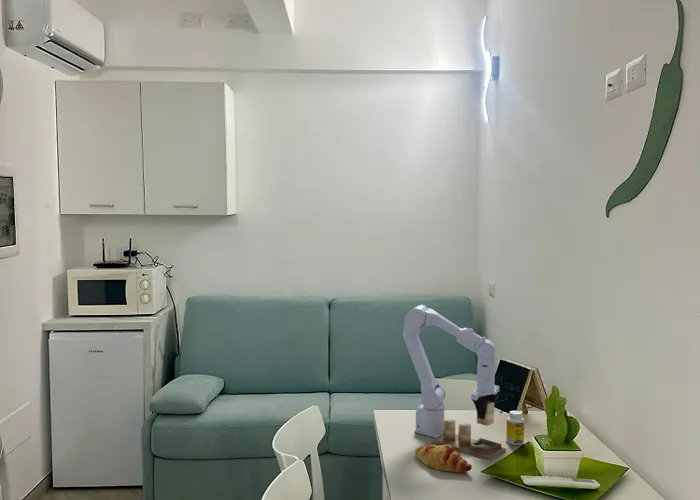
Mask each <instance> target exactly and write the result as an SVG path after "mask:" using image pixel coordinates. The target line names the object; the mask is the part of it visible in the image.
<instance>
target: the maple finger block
mask: <svg viewBox="0 0 700 500" xmlns="http://www.w3.org/2000/svg"><path fill="white" fill-rule="evenodd" d="M494 423H495V406H494V402H490V401H489V402H488V404H487V407H486V414H485V419H480V418H478V414H477V413H476V424H478V425H481V426H485V427H488V426H490V425H492V424H494Z"/></svg>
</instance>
